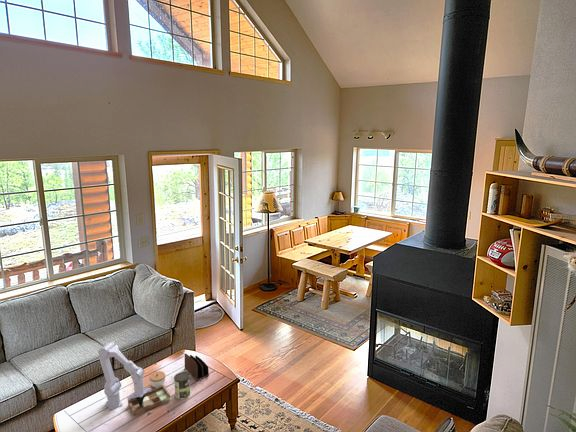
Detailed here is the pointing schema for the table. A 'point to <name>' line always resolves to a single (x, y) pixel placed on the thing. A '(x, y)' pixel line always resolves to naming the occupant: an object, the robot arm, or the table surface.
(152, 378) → the lidded jar
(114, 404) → the robot arm
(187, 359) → the letter holder
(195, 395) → the table surface
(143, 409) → the board
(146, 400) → the cream block
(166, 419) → the table surface
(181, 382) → the coffee can
